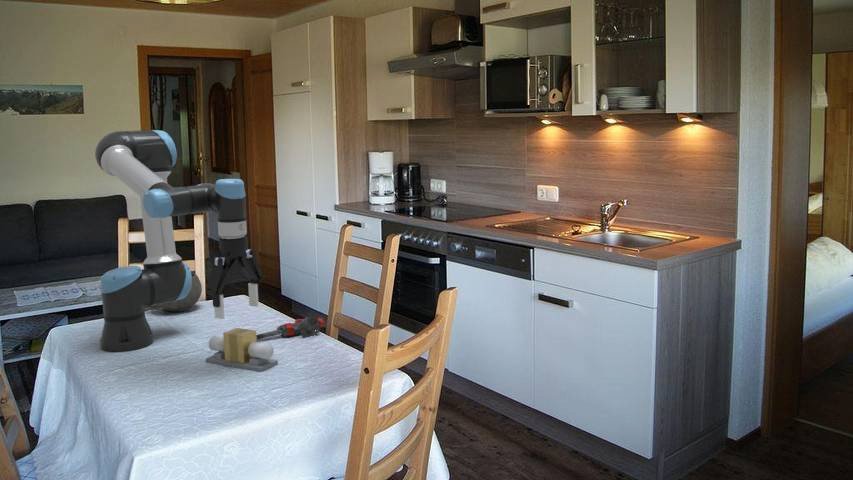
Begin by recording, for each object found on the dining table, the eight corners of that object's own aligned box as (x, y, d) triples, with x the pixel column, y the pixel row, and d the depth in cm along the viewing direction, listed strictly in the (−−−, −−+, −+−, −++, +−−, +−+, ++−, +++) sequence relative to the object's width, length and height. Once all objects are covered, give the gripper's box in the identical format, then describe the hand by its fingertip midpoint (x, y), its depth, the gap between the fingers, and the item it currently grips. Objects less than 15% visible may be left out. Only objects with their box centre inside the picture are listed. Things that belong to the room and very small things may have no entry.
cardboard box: (257, 358, 207) (256, 330, 206) (244, 364, 202) (242, 335, 201) (238, 354, 210) (236, 327, 209) (225, 360, 205) (223, 332, 204)
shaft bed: (206, 361, 208) (204, 339, 207) (223, 354, 214) (222, 333, 213) (261, 371, 199) (259, 348, 197) (277, 363, 205) (276, 341, 204)
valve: (315, 329, 245) (331, 333, 232) (237, 346, 233) (250, 351, 220) (312, 310, 245) (328, 313, 232) (234, 326, 233) (247, 330, 220)
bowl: (174, 318, 255) (171, 282, 253) (140, 312, 264) (137, 278, 262) (213, 306, 270) (211, 272, 268) (179, 301, 279) (176, 268, 277)
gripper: (209, 245, 188) (215, 325, 192) (273, 230, 209) (277, 302, 213) (188, 242, 191) (193, 321, 195) (253, 228, 213) (257, 299, 217)
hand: (237, 312), depth 204 cm, fingers open, 13 cm apart
